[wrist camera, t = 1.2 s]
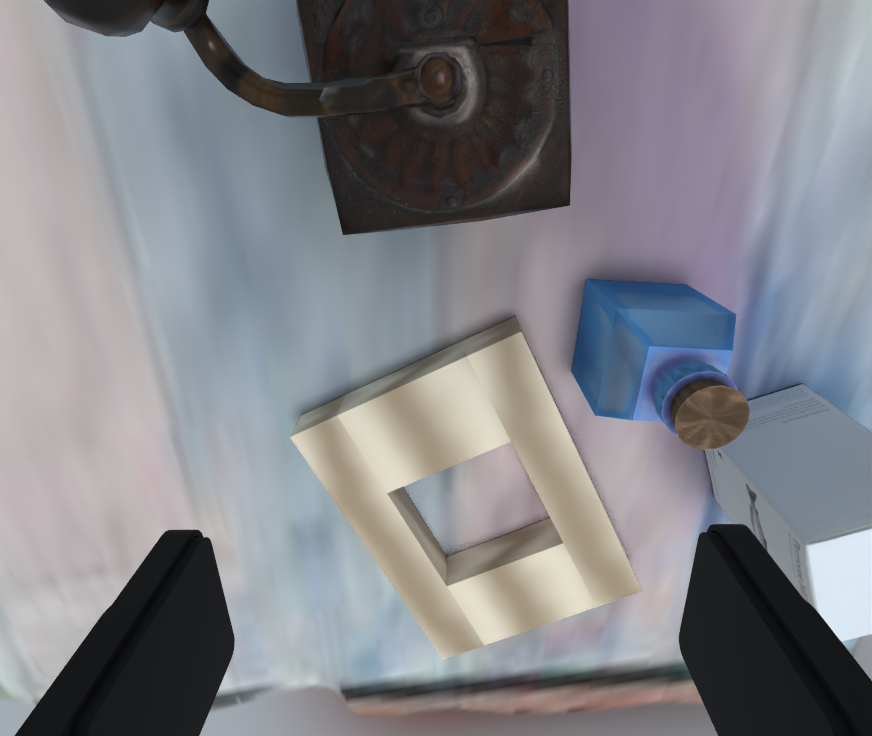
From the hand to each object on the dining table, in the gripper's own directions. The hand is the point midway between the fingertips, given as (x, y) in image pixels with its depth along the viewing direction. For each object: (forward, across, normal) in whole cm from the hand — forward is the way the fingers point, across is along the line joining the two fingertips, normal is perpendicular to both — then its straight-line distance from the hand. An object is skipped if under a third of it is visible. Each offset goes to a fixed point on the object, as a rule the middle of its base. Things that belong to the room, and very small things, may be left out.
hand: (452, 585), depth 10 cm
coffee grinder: (+25, +3, -10) cm, 27 cm away
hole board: (+25, -2, +16) cm, 30 cm away
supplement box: (+25, -21, +12) cm, 35 cm away
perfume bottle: (+25, -11, +4) cm, 28 cm away
